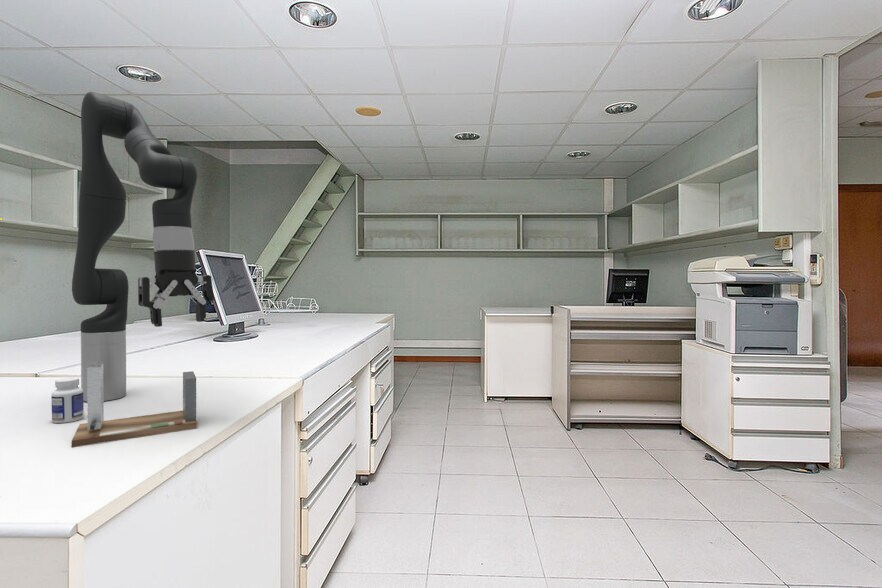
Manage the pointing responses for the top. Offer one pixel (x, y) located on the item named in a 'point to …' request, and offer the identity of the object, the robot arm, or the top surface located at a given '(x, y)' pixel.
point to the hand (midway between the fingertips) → (179, 323)
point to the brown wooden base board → (132, 428)
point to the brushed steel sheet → (95, 396)
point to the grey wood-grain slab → (189, 396)
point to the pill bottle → (67, 401)
